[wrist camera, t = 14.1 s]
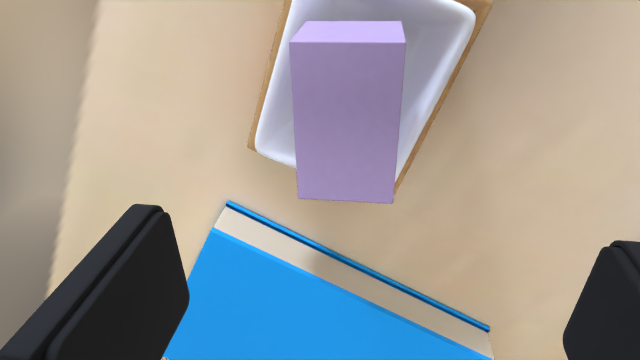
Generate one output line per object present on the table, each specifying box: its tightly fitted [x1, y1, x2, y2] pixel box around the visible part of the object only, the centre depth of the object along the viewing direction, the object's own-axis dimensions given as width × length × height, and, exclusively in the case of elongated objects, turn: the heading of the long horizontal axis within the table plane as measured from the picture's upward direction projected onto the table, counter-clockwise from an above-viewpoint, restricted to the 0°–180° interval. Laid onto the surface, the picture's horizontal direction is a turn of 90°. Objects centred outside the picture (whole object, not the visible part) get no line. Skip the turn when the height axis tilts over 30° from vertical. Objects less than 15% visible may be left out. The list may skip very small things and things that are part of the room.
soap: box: [289, 21, 406, 204], centre depth 20 cm, size 8×5×4 cm, turn 1°
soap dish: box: [247, 0, 493, 195], centre depth 24 cm, size 12×10×5 cm
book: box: [163, 201, 494, 360], centre depth 37 cm, size 17×4×25 cm
